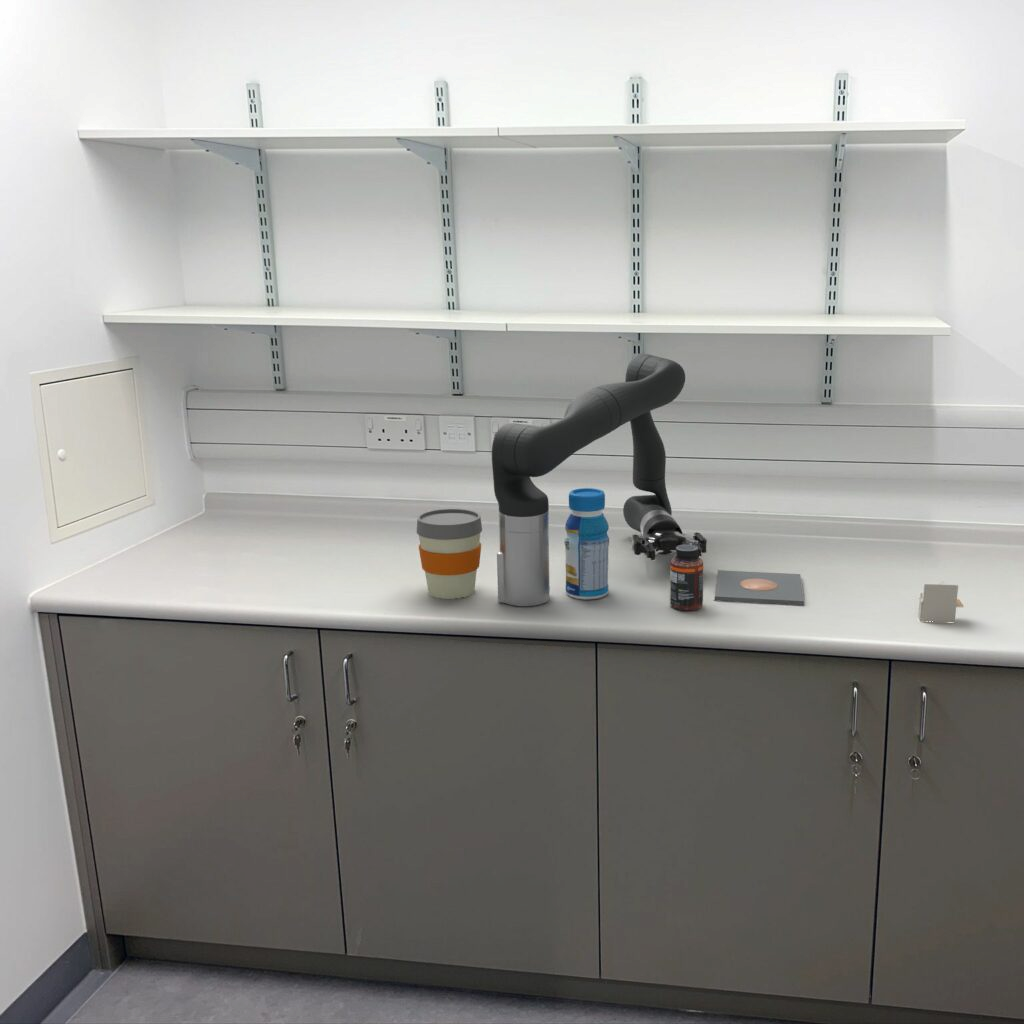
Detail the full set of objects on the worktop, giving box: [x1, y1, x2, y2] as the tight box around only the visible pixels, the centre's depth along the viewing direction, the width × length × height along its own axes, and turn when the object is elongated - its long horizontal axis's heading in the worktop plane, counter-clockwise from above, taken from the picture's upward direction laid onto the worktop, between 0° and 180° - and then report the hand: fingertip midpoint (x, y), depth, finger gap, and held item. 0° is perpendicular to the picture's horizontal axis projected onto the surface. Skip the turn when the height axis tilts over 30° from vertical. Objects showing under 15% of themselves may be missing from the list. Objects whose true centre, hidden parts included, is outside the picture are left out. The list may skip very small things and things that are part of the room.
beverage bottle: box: [563, 487, 610, 601], centre depth 198 cm, size 8×8×20 cm
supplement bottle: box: [669, 544, 704, 612], centre depth 191 cm, size 6×6×11 cm
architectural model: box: [917, 581, 964, 623], centre depth 183 cm, size 3×7×7 cm, turn 80°
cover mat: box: [714, 569, 805, 606], centre depth 201 cm, size 16×16×1 cm
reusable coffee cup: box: [416, 508, 483, 600], centre depth 201 cm, size 12×13×15 cm
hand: (675, 554), depth 202 cm, fingers open, 8 cm apart
